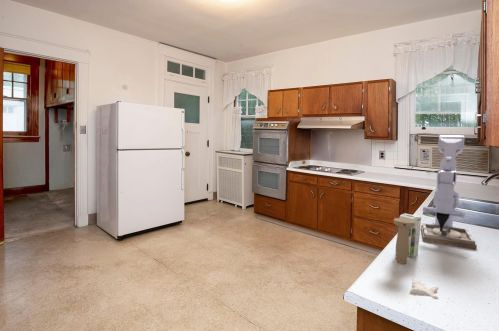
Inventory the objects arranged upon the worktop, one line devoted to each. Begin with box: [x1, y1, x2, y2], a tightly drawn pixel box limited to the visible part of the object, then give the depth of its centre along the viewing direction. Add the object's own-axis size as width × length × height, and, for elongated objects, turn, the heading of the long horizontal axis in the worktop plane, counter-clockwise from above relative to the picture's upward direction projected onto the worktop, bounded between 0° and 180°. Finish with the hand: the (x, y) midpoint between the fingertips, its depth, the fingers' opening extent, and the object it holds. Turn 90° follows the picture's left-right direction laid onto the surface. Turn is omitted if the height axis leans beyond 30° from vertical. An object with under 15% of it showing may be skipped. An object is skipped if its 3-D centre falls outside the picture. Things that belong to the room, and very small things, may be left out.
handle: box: [393, 217, 415, 265], centre depth 100 cm, size 5×6×15 cm
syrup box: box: [398, 213, 422, 258], centre depth 108 cm, size 6×6×14 cm
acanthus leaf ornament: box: [409, 278, 439, 300], centre depth 83 cm, size 8×7×2 cm
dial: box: [433, 226, 461, 238], centre depth 124 cm, size 12×10×3 cm
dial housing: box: [420, 222, 478, 250], centre depth 125 cm, size 18×18×3 cm
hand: (441, 231), depth 122 cm, fingers closed, pressing on dial
